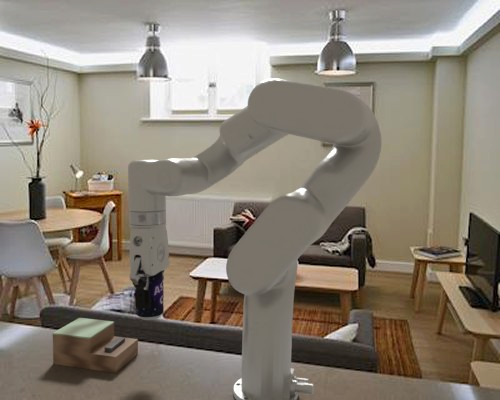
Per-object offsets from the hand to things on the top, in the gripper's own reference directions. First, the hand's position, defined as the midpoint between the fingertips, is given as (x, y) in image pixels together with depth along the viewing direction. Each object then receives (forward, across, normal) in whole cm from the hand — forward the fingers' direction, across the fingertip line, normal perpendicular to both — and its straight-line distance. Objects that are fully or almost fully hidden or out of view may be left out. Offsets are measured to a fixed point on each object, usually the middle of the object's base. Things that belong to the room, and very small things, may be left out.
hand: (149, 302), depth 100 cm
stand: (+14, +1, +14) cm, 20 cm away
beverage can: (+3, 0, 0) cm, 3 cm away
